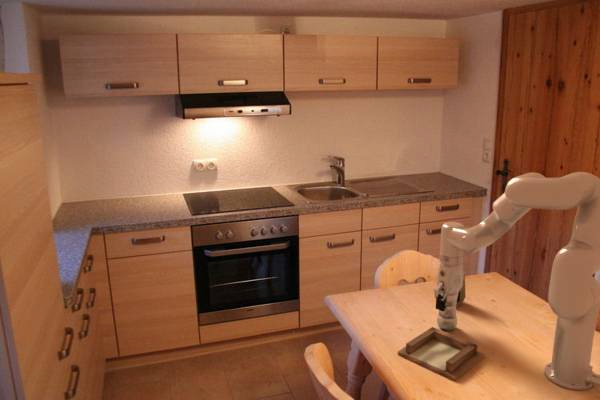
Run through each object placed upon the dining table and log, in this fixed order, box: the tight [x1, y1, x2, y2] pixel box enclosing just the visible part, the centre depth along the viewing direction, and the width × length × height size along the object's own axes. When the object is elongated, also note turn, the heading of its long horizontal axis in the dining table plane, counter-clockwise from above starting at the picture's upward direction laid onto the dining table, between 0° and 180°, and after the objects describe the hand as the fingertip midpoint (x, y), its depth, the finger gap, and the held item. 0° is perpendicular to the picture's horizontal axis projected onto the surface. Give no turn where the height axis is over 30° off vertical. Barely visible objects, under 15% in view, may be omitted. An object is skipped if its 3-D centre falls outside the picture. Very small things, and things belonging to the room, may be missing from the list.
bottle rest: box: [397, 326, 486, 382], centre depth 155 cm, size 20×18×4 cm
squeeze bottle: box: [456, 274, 467, 308], centre depth 188 cm, size 8×8×18 cm
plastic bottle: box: [436, 288, 459, 331], centre depth 170 cm, size 6×7×20 cm
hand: (447, 305), depth 170 cm, fingers open, 9 cm apart
